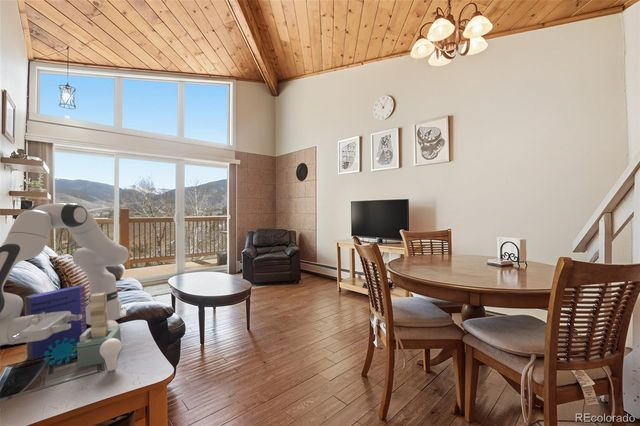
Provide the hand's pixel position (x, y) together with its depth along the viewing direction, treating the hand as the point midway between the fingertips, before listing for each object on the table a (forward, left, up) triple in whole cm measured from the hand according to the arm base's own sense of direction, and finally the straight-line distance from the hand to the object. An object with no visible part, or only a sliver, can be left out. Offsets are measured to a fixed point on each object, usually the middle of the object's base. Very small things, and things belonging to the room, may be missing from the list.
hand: (76, 321), depth 104 cm
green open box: (0, +7, -15) cm, 17 cm away
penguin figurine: (-13, +7, -15) cm, 21 cm away
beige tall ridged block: (0, +7, -15) cm, 17 cm away
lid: (0, +7, -8) cm, 10 cm away
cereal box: (-17, -12, -15) cm, 26 cm away
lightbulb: (+14, +14, -15) cm, 25 cm away
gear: (-3, -5, -15) cm, 16 cm away
